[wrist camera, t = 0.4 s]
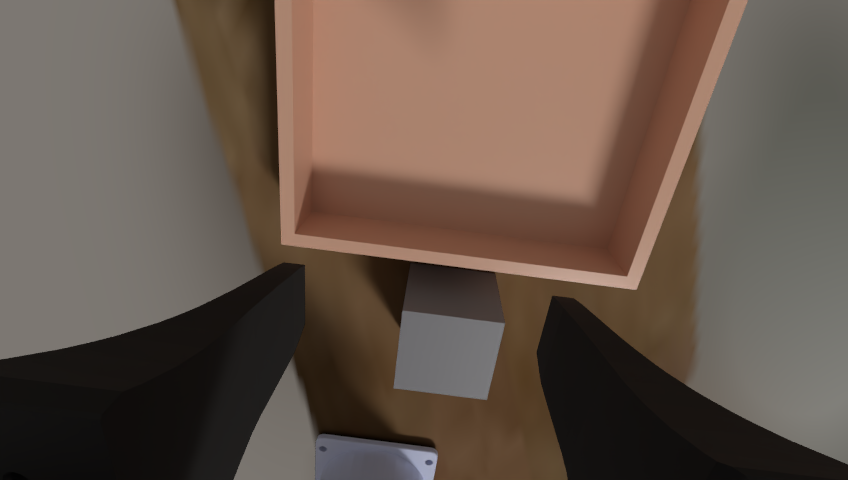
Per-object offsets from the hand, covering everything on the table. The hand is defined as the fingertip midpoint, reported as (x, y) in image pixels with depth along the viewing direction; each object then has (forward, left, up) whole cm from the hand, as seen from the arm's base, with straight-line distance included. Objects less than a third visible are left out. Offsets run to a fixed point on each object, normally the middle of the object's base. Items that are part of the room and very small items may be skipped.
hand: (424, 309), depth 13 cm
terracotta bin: (+5, -2, -10) cm, 11 cm away
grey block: (-6, -1, -10) cm, 11 cm away
